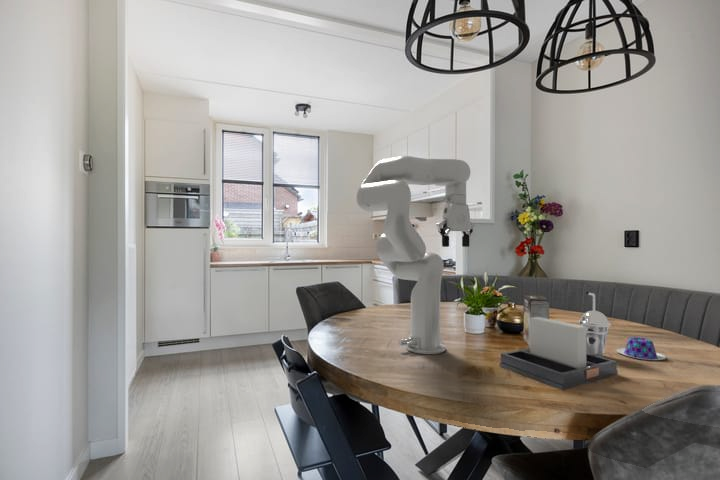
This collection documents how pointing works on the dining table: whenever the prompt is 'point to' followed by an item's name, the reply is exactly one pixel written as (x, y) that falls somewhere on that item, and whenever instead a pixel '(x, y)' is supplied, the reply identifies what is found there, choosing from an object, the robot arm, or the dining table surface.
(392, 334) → the dining table surface
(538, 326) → the panel
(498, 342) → the dining table surface
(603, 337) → the cup with straw
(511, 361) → the tray
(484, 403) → the dining table surface
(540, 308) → the coffee box
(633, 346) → the pudding
